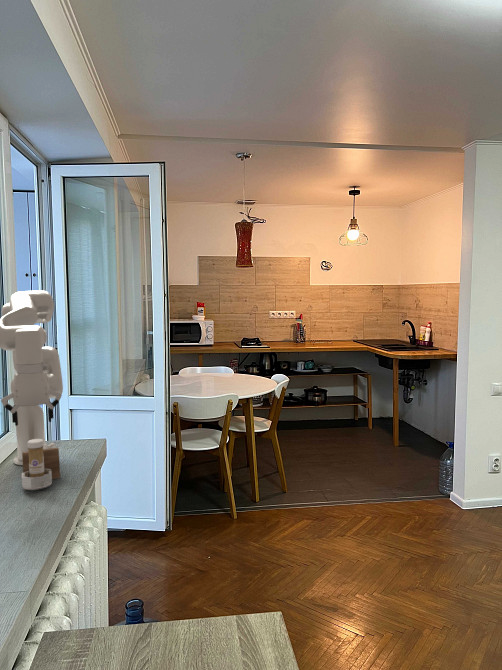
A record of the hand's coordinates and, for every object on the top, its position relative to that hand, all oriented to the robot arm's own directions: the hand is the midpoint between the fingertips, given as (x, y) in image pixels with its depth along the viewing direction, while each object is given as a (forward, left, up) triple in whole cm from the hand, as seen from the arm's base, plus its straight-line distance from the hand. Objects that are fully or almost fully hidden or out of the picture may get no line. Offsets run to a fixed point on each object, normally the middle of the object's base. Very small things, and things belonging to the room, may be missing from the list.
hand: (33, 422), depth 164 cm
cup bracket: (0, 0, -20) cm, 20 cm away
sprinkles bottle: (0, +1, -19) cm, 19 cm away
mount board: (-7, -5, -21) cm, 23 cm away
